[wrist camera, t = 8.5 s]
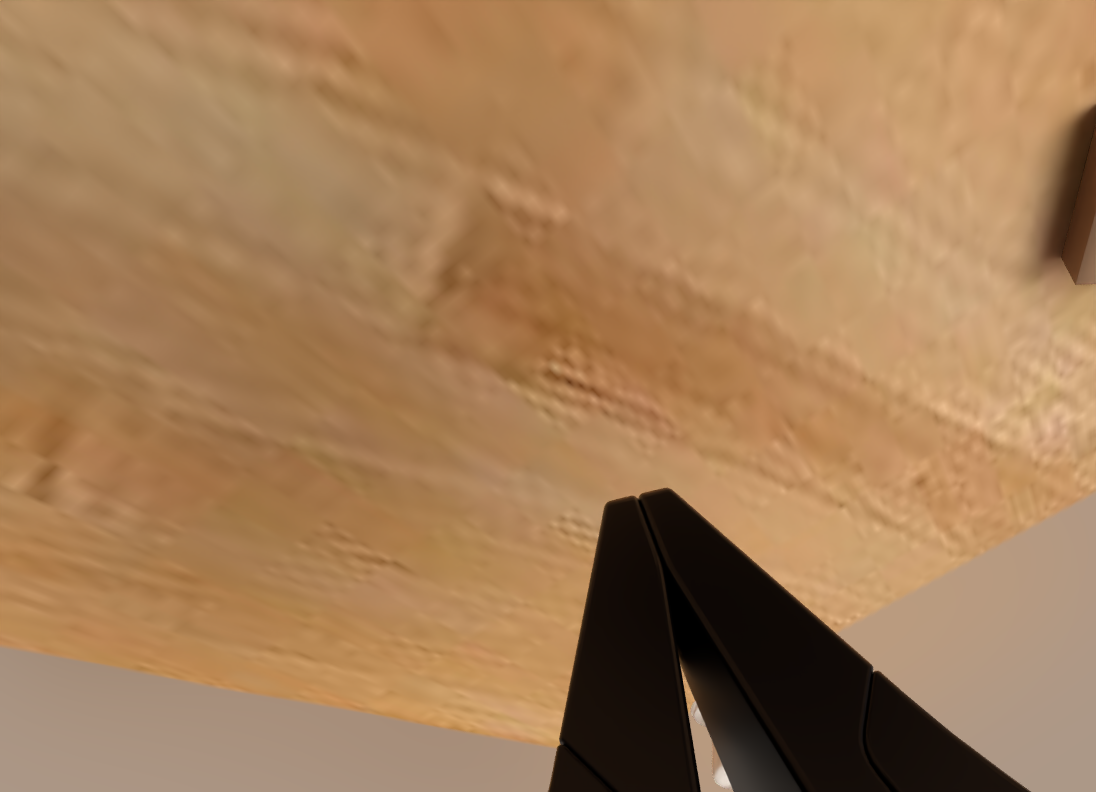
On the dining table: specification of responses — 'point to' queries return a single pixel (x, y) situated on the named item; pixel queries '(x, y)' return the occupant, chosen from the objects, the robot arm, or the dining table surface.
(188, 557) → the dining table surface
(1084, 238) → the domino
